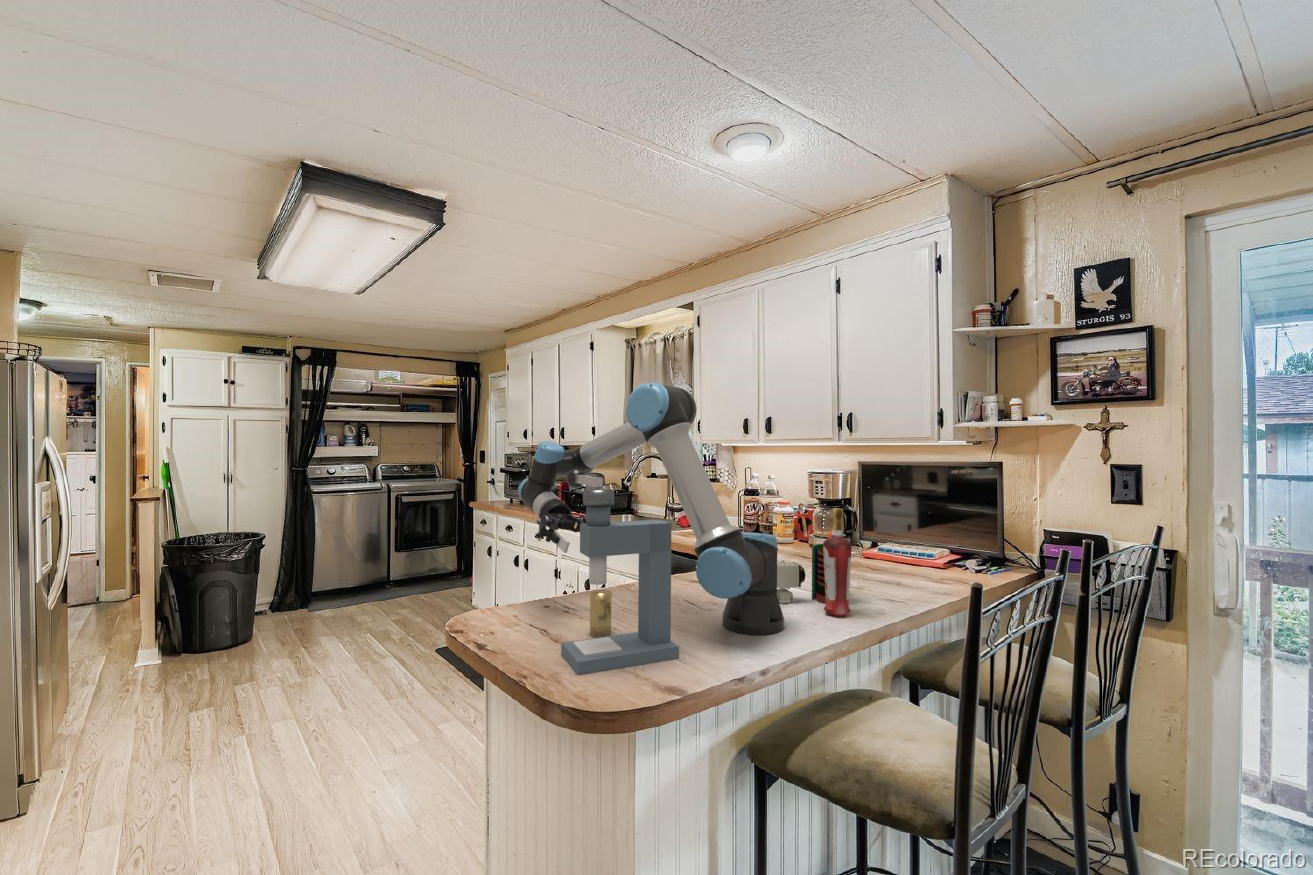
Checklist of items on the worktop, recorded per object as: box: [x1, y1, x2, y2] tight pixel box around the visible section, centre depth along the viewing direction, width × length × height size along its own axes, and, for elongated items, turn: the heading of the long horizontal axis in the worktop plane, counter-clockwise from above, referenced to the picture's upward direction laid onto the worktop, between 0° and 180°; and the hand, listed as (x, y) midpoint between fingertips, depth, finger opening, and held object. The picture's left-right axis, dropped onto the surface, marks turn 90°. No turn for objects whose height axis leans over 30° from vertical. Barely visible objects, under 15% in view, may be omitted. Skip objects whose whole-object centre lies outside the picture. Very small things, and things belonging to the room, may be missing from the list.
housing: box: [589, 588, 613, 638], centre depth 137 cm, size 5×5×10 cm
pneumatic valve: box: [777, 559, 806, 605], centre depth 167 cm, size 6×12×12 cm, turn 100°
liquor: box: [822, 508, 853, 618], centre depth 155 cm, size 7×7×28 cm
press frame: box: [560, 505, 680, 676], centre depth 123 cm, size 22×12×32 cm, turn 115°
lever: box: [566, 469, 615, 506], centre depth 128 cm, size 6×21×7 cm, turn 25°
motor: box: [811, 529, 832, 605], centre depth 169 cm, size 10×9×20 cm
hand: (590, 547), depth 142 cm, fingers open, 13 cm apart
